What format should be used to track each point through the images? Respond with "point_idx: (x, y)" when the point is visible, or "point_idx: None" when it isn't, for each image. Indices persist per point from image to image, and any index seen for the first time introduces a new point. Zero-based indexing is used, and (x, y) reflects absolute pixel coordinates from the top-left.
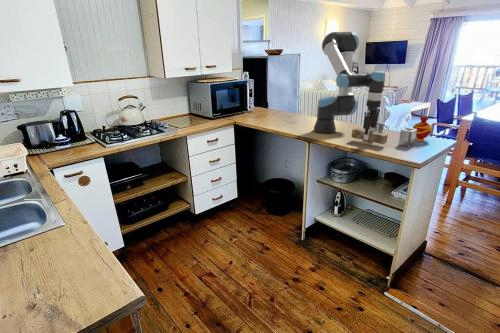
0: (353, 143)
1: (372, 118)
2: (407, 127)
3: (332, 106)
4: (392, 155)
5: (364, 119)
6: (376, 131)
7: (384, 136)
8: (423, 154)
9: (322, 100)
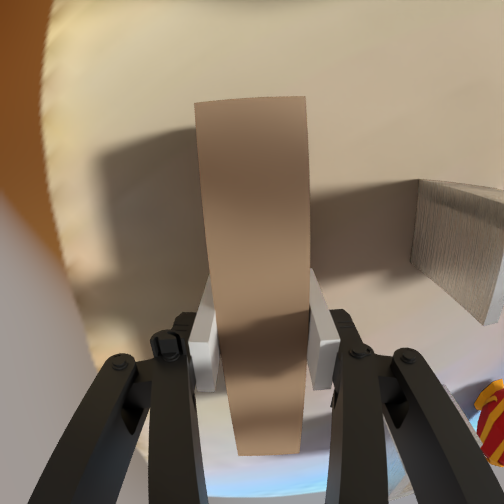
0: (163, 185)
1: (331, 495)
2: (481, 445)
3: None
4: None
5: (49, 468)
6: (450, 287)
7: (239, 451)
8: (283, 486)
9: None
